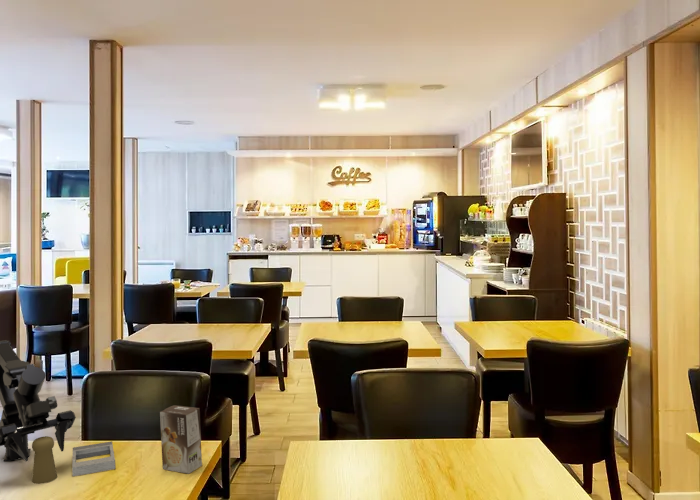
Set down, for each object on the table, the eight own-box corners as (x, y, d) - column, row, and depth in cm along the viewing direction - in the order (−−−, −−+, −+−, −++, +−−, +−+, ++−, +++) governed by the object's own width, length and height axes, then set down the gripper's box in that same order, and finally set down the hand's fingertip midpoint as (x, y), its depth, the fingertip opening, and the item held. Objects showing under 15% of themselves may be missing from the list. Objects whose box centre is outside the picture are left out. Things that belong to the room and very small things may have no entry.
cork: (46, 484, 155) (44, 442, 154) (26, 483, 156) (24, 441, 155) (62, 474, 161) (60, 434, 160) (42, 473, 162) (40, 433, 161)
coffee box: (203, 465, 165) (201, 407, 165) (188, 474, 160) (186, 415, 159) (176, 460, 169) (174, 404, 168) (160, 469, 163) (158, 411, 162)
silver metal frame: (73, 455, 174) (72, 447, 174) (112, 449, 178) (112, 441, 178) (72, 476, 160) (72, 467, 159) (115, 468, 164) (115, 460, 164)
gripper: (-4, 396, 153) (12, 450, 146) (71, 381, 167) (89, 429, 159) (-12, 420, 159) (3, 472, 152) (62, 403, 173) (79, 451, 165)
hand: (45, 455), depth 157 cm, fingers open, 8 cm apart
